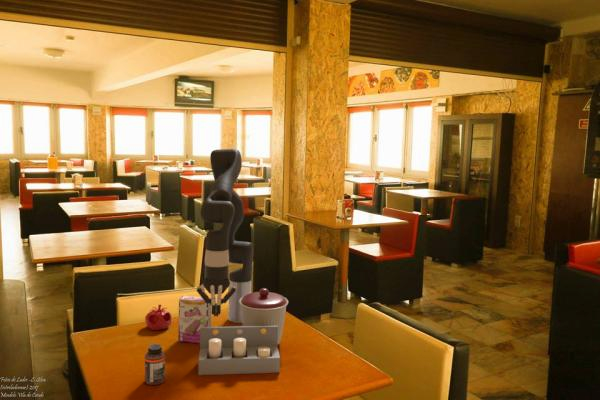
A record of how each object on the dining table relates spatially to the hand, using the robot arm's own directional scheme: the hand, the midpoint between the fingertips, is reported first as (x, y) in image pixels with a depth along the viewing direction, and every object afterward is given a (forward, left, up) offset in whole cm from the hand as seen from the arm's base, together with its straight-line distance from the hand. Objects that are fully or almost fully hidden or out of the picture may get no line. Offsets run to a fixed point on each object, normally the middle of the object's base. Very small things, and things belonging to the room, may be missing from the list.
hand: (215, 315), depth 157 cm
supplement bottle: (+6, -18, -19) cm, 27 cm away
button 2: (0, +16, -17) cm, 23 cm away
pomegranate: (-38, -23, -19) cm, 48 cm away
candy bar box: (-24, -8, -19) cm, 31 cm away
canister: (-20, +17, -19) cm, 32 cm away
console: (-2, +8, -18) cm, 20 cm away
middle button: (0, +8, -14) cm, 16 cm away
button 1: (0, 0, -14) cm, 14 cm away
